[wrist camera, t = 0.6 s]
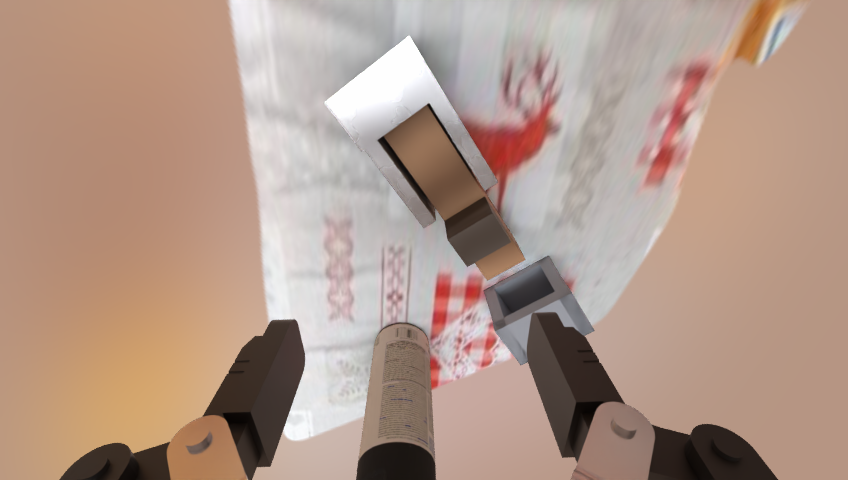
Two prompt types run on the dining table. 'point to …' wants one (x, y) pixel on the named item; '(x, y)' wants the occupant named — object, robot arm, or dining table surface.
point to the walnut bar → (454, 193)
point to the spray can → (398, 409)
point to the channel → (401, 120)
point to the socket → (532, 305)
